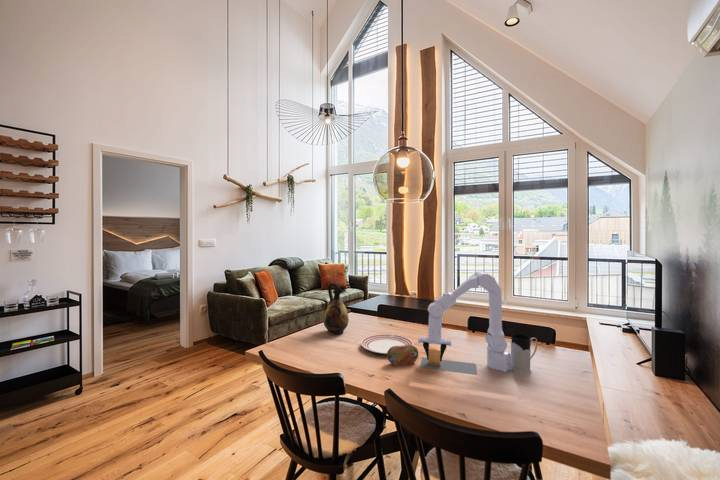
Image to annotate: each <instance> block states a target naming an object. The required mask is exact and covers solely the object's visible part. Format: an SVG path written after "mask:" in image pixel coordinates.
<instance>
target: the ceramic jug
mask: <svg viewBox="0 0 720 480" xmlns="http://www.w3.org/2000/svg"><path fill="white" fill-rule="evenodd" d="M332 287H334V289H333V290H332ZM327 289H328V290H327V292H328V297H329V303H328V306H327V307H326V309H325V311H324V315H323V318H322V319H323V321H322V322H323V325H324V327H325V328H326V330H327V333H328V334H329V335H332V336H339V335H342V334H344V331H345V330H346V328H347V327H348V325H349V322H350V318H349V312H348V309H347V308H346V306H345V304H344V302H343V301H342V299H341V296H340V295H341V294H344V293H346V292H347V290H346V288H345V287H344V286H343V285H342V286H339V284H338V283H336V282H331V283H329V285H328V287H327Z"/></svg>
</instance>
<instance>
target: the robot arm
mask: <svg viewBox="0 0 720 480" xmlns="http://www.w3.org/2000/svg"><path fill="white" fill-rule="evenodd" d="M479 286H480V287H481V288H483V290H485V291H486V292H487V293H488V314H489V315H488V316H489V317H488V320H489V321H488V325H489V326H488V329H487V334H486V335H485V342H486V344H487V347H486V348H487V349H486V366H487V367H488V368H489V369H492V370H497V371H501V372H504V373H506V372H507V371H511V352H510V353H509V352H507V351H506V349H507V347H508V343H507V341H506V339H505V334H504V331H503V314H502V312H503V311H502V309H503V308H502V306H503V305H502V288H501V287H500V285H499V283H498V281H497V280H496V278H495V277H494V276H492V275H491V274H489V273H485V272H484V271H481V270H479V271H476V272H475V273H474V274H472V275H470V276H469V277H467V278H466V280H464V282H462V283H461V284H460V285H459V286H458V287H456V288H455V289H454V290H453V291H452V292H446V293H445V292H443V293H442V296H440V297H439V298H438V299H437V300H436V299H435V300H434V302H431V303H430V304H429V305H428V307H427V312H428V328H427V329H428V332H427V333H428V337H418V339H417V340H418V341H417V342H418V344H422V346H423V349H424V351H425V355H426V358H427V360H428V358H429V346H430V344H432V345H440V347H441V353H440V361H442V360H443V355H444V353H445V351H446V349H447V346H448V347H452V340H449V339H444V338H442V323H443V322H442V316H443V314H444V312H445V311H446V310H448V309H449V308H450V307H452V306H453V305H455V304H456V303H457V299H458V298H459V297H461V296H462V295H464V294H465V293H467V292H468V291H470V290H471V289H479V288H480V287H479ZM511 372H512V371H511Z"/></svg>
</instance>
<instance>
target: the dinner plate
mask: <svg viewBox="0 0 720 480" xmlns="http://www.w3.org/2000/svg"><path fill="white" fill-rule="evenodd" d="M360 344H361V346H362V348H364V350H367V351H370V352H373V353H376V354H381V355H387V352H388V350H389V349H390V348H391V347H393V346H400V345H412V346H414V342H413V341H412V340H411V339H410V338H408V337H405V336H402V335H399V334H393V333H391V334H390V333H380V334H373V335H370V336H366V337H365V338H363V339H362V340H361V342H360Z"/></svg>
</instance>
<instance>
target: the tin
mask: <svg viewBox="0 0 720 480" xmlns="http://www.w3.org/2000/svg"><path fill="white" fill-rule="evenodd" d="M386 358H387V361H388V362H389V363H390V364H391V365H392V366H402V365H410V364H413V363H415V362H416V361H417V360H418V358H419V350H418V349H417V347H416V346H414V345H413V346H412V345H400V346H393V347H391V348H390V349H389V350H388V352H387V354H386Z"/></svg>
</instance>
